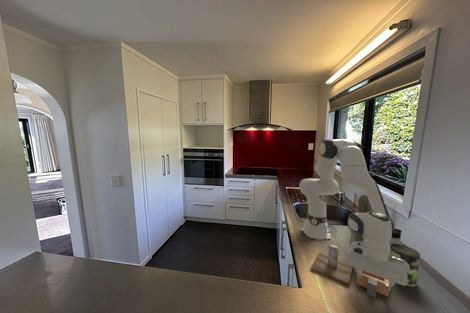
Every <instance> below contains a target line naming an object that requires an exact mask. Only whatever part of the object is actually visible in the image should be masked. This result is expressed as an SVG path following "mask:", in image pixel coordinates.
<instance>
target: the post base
mask: <svg viewBox="0 0 470 313" xmlns="http://www.w3.org/2000/svg"><path fill="white" fill-rule="evenodd" d="M338 256H339V247H338V246H337V245H335V244H329V245H328V255H326V254H324V253H320V252H318V254H317V256H316V258H315V259H314V261H313V263H312V265H311V267H310V271H311V272H313V273H316V274H318V275H321V276H323V277H325V278H328V279H329V280H332V281H334V282H336V283H339V284H341V285H344V286H346V287H349V286H350V282H351V279H352V278H351V277H352V274H353V269H354V267H351V266H348V265H347V263H346V261H342V260H340V259H338Z"/></svg>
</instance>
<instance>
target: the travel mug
mask: <svg viewBox="0 0 470 313" xmlns="http://www.w3.org/2000/svg"><path fill="white" fill-rule="evenodd" d="M401 235H402V230H401V229H399V228H395V227H394V230H393V232H392V236H391V240H390V245H391V244H400V245H401V238H402V237H401Z"/></svg>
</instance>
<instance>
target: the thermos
mask: <svg viewBox="0 0 470 313" xmlns="http://www.w3.org/2000/svg"><path fill="white" fill-rule="evenodd" d="M357 202H358V203H357V212H356V213H366V212H368V211H372V208H371V205H370V202H369V199H368V197H367V195H366V194H361V195H360V196H359V198H358V200H357ZM354 241H357V242H363V241H364V238H363V236H359V235H357V234H355V233H354Z"/></svg>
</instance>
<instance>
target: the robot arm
mask: <svg viewBox="0 0 470 313" xmlns="http://www.w3.org/2000/svg"><path fill="white" fill-rule="evenodd" d="M338 160H339V167H340V174H341V175H340V176H341V178H342V180H343V181H344V182H345V183H346V184H347V185H349V186H350V187H353V188H356V189H359V190H360V191H362V192H363V193H364V195H367V197H368V199H369V202H370V205H371V208H372V211H368V212H366V213H357V212H352V213H350V214H349V215H348V217H347V226H348V230H350V231H351V232H352V233H353V234H354V235H355V234H357V235H359V236H363V238H364V241H363V242H357V241H355V240H354V241H352V242H351V244H350V247H349V248H348V251H347V254H346V258H345V259H346V260H345V262H346V263H347V265H348V266H351V267H353V269H354V271H355V273H356V276H357V275H358V279H361V280H362V274H360V272H359V270H362V271H365V272H368V273H370V274H373V275H376V276H378V277H381V278H384V279H387V280H389V284H387V283H386V287H385V288H386V290H389V292H390V291H391V290H392V289H391V288H393V287H394V286H395V285H396V284H398V285H400V286H403V287H405V286H407V284H408V278H407V272H409V270H410V266H409V264H408V263H407V262H405V261H404V260H402V259H398V258H395V257H392V256H390V240H391V236H392V232H393V230H394V228H395V224H394V221H393V219H392V217H391V216H390V214H389V211H388V209H387V207H386V203H385V200H384V197H383V196H382V192H381V190H380V187H379V185H378V183H377V181H376V180H374V178H372V176H371V175H370V173H369V171H368V167H367V162H366V159H365V156H364V153H363V145H362V143H361V142H360V141H357V140H355V139H344V138H339V139H338V138H337V139H330V138H329V139H324V140H322V141H321V142H320V144H319V145H318V157H317V160H316V164H315V167H314V171H315V173H316V174H317V175H318V176H319V178H318V177H317V178H313V177H310V178H303V179H301V180H300V182H299V190H300V192H301V193H302V194H303V196H305V198H306V199H307V203H308V208H307V209H308V210H307V215H306V216H307V217H306V219H305V220H304V226H303V228H301V232H303V231H304V232H303V233H304V234H306V235H305V236H307V237H308V238H311V239H314V240H318V241H324V239H325V240H328V239H330V240H331V236H332V234H330V233H327V232H329V230H328V229H329V226H328V222H327V220H328V218H327V203H325V201H323V200H322V199H320V196H332V195H336V194H338V193H339V189H340V185H339V183H338V182H337V180H335V176H334V173H335V171H336V166H337V164H338Z"/></svg>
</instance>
